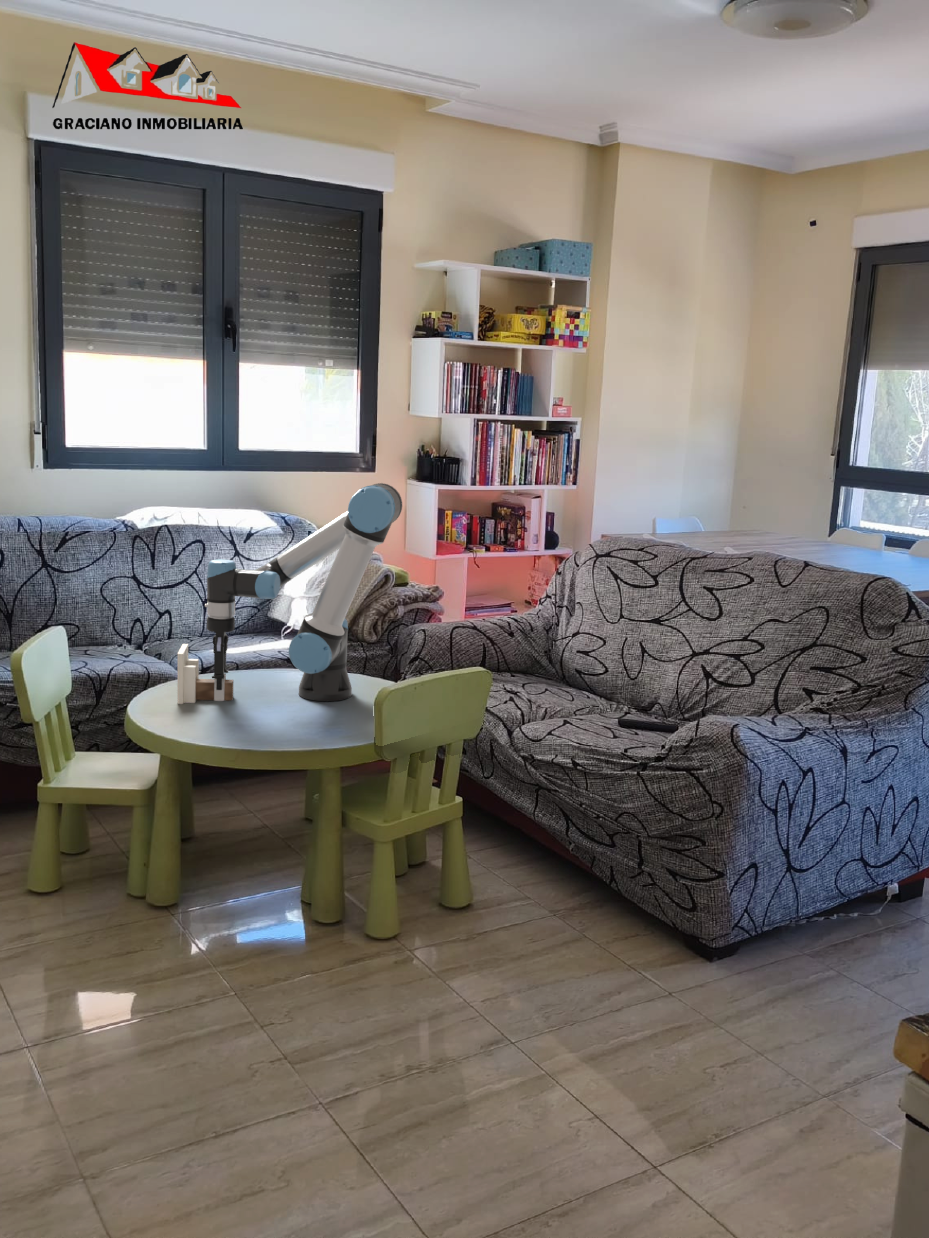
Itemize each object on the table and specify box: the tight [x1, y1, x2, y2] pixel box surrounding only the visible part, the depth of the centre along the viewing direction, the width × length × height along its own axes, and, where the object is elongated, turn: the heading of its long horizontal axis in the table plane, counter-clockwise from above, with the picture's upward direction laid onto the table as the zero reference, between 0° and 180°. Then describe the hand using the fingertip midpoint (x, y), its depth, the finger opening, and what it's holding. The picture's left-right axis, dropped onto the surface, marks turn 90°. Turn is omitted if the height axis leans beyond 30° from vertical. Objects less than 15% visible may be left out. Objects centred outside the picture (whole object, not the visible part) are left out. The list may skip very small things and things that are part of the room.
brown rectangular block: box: [196, 678, 234, 701], centre depth 303 cm, size 12×4×5 cm, turn 96°
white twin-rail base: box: [177, 643, 200, 705], centre depth 301 cm, size 4×12×14 cm, turn 8°
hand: (219, 698), depth 304 cm, fingers closed on brown rectangular block, 4 cm apart
